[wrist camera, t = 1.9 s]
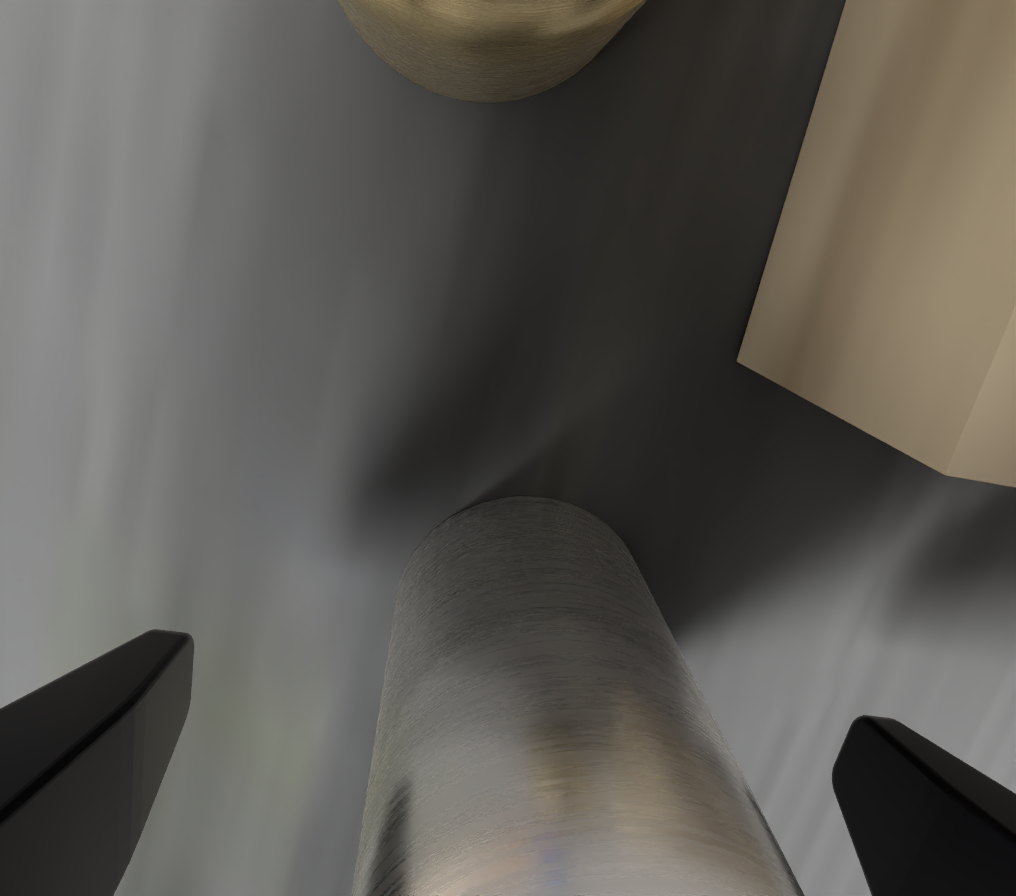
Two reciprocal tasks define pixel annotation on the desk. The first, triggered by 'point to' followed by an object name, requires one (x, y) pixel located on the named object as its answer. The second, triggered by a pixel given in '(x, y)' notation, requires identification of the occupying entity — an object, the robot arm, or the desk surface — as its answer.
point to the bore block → (905, 238)
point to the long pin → (549, 728)
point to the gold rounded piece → (488, 41)
